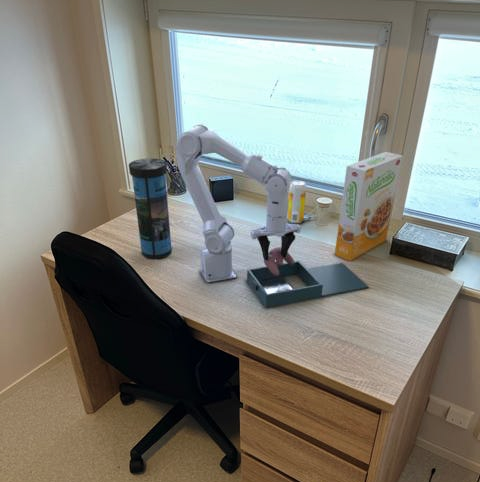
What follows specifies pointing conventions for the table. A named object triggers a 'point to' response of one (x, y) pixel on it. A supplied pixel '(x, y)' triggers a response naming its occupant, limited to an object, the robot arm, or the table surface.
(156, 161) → the advertising column
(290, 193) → the beer can
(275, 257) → the video game controller
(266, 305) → the box
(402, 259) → the table surface
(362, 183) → the cereal box
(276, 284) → the silver plate
